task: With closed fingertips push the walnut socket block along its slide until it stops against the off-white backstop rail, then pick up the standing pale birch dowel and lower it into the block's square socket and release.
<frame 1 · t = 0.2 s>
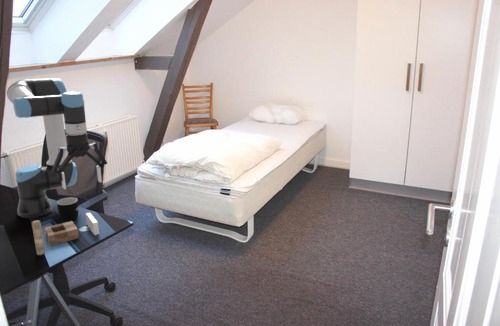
hand: (82, 184, 158), 28 cm above the table, fingers open, 13 cm apart
block: (61, 232, 171), point 2 cm above the table, slide at 0.0 cm
mug: (69, 219, 189), on the table
dowel: (40, 253, 160), on the table
backstop rail: (92, 229, 180), on the table
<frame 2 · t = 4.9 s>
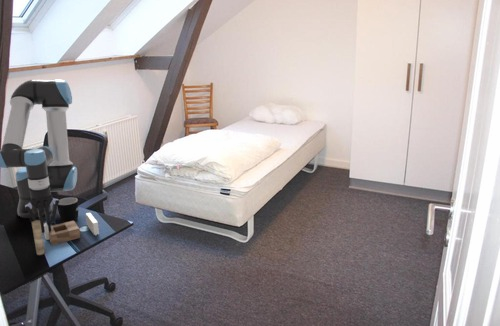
hand: (47, 238, 168), 1 cm above the table, fingers closed
block: (63, 232, 172), point 2 cm above the table, slide at 0.7 cm, touching gripper
everything else where it was.
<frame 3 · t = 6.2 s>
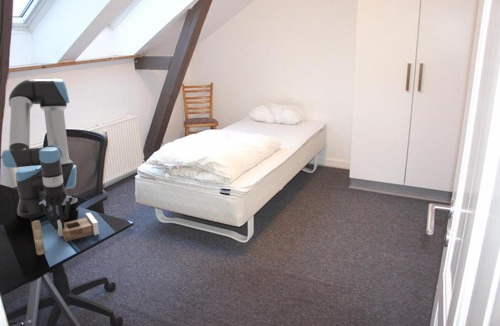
hand: (60, 234, 171), 1 cm above the table, fingers closed
block: (76, 229, 175), point 2 cm above the table, slide at 6.0 cm, touching gripper
everything else where it was.
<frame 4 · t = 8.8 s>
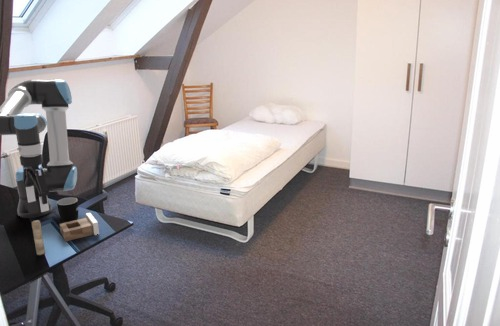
hand: (38, 206, 156), 20 cm above the table, fingers open, 13 cm apart
block: (76, 229, 175), point 2 cm above the table, slide at 6.0 cm
everything else where it was.
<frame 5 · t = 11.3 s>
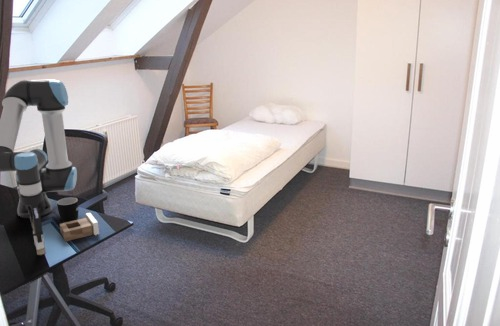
hand: (39, 246, 159), 3 cm above the table, fingers closed on dowel, 3 cm apart
dowel: (41, 253, 160), on the table, touching gripper
everything else where it was.
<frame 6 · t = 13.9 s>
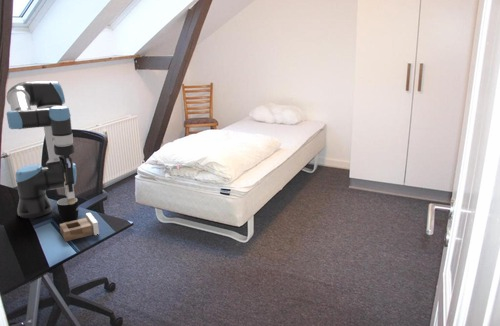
hand: (70, 196, 170), 18 cm above the table, fingers closed on dowel, 3 cm apart
dowel: (71, 203, 171), point 15 cm above the table, touching gripper
everything else where it was.
when the fingers open (6 cm above the table, at t = 16.8 s): dowel drops 1 cm, resting on block.
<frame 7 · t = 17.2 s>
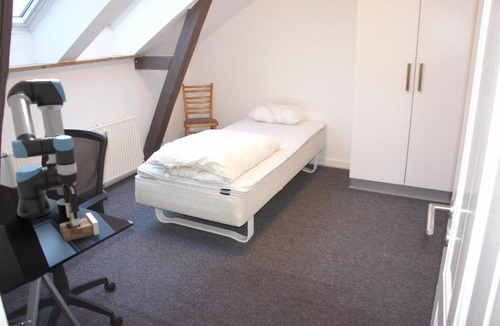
hand: (73, 220, 173), 7 cm above the table, fingers open, 9 cm apart
block: (76, 229, 175), point 2 cm above the table, slide at 6.1 cm, touching dowel
dowel: (75, 233, 175), point 1 cm above the table, touching block
everything else where it was.
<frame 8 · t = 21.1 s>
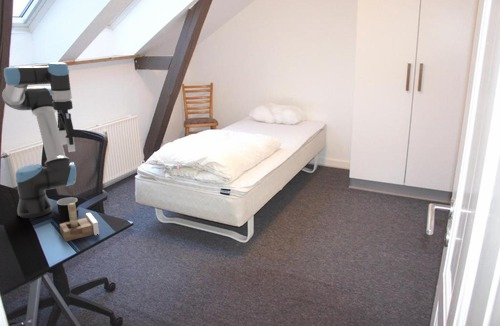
hand: (68, 148, 174), 37 cm above the table, fingers open, 13 cm apart
nothing on the table moved.
at the end: block slide at 6.1 cm; dowel 0.5 cm from the target spot on the block, point 0.5 cm above the block's base; dowel tilted 0° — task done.
